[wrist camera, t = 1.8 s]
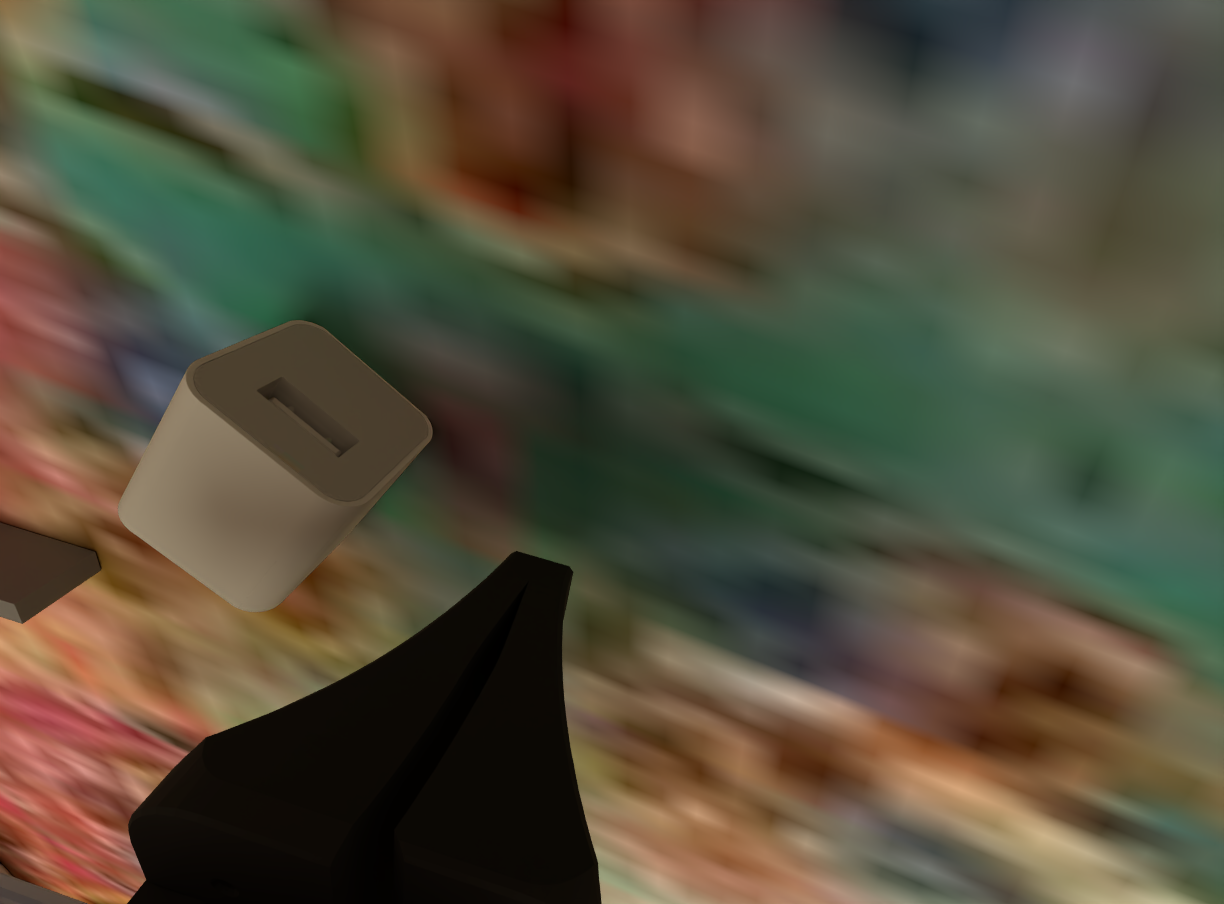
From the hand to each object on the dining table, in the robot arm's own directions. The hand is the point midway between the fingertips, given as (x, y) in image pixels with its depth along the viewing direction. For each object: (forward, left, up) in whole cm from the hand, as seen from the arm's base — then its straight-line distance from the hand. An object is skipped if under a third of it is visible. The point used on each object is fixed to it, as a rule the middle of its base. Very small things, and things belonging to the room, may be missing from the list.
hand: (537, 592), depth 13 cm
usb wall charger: (0, +7, -3) cm, 7 cm away
